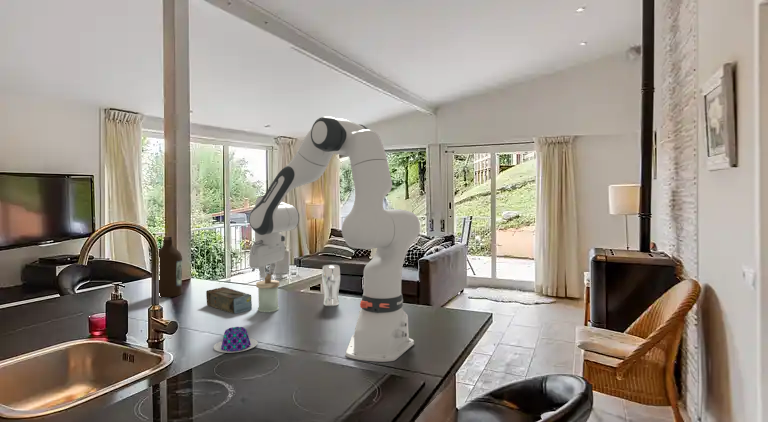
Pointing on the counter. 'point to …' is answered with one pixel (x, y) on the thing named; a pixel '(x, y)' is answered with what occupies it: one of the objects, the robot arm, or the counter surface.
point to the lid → (268, 283)
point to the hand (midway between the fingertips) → (268, 275)
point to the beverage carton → (229, 300)
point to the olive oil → (170, 270)
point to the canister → (268, 299)
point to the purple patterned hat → (235, 341)
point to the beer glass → (331, 284)
